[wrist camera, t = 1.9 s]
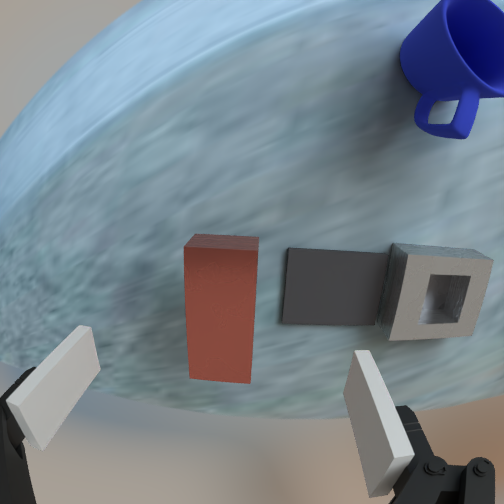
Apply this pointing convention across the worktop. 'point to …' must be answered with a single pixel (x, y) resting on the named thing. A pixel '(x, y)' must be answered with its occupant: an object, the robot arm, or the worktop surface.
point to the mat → (333, 287)
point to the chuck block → (433, 292)
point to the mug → (455, 61)
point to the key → (220, 306)
